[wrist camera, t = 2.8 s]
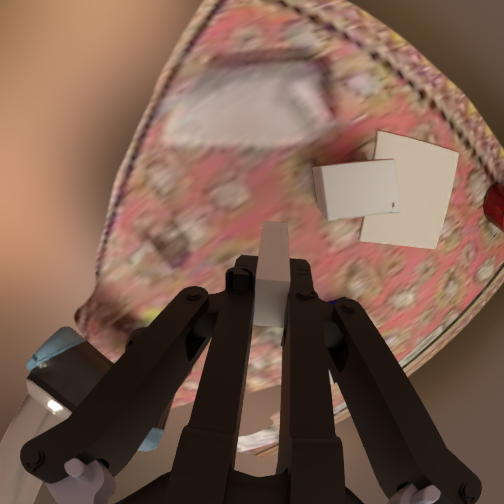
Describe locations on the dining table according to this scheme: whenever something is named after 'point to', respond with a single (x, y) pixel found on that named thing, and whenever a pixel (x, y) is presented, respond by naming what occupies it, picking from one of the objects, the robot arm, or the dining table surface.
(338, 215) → the small box
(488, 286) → the dining table surface
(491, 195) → the soda can
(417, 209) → the mat
